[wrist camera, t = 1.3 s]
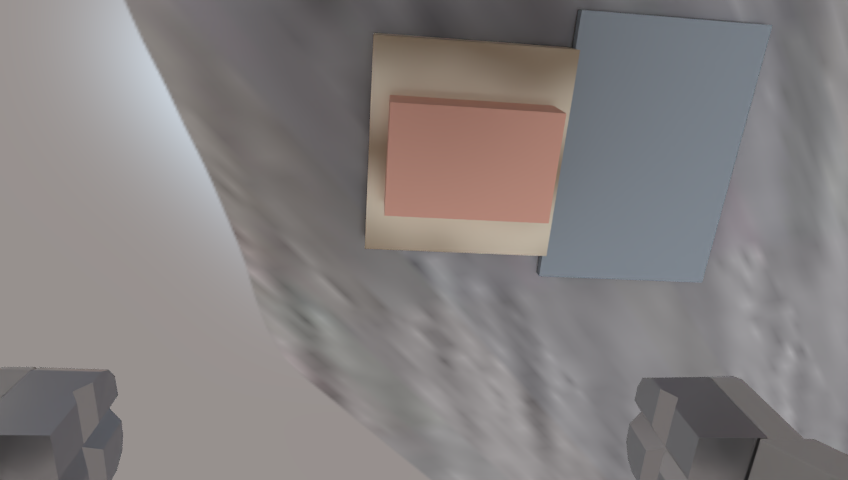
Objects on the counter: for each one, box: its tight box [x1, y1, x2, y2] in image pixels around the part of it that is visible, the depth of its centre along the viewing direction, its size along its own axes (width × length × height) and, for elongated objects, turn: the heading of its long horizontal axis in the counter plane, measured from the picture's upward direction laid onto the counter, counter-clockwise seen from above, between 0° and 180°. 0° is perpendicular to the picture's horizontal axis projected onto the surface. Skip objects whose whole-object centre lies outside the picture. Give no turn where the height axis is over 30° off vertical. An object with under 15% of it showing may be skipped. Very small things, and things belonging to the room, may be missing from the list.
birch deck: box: [365, 33, 580, 256], centre depth 34 cm, size 12×11×2 cm
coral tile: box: [384, 95, 566, 223], centre depth 32 cm, size 9×6×2 cm, turn 86°
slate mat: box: [537, 10, 772, 282], centre depth 36 cm, size 16×11×1 cm
